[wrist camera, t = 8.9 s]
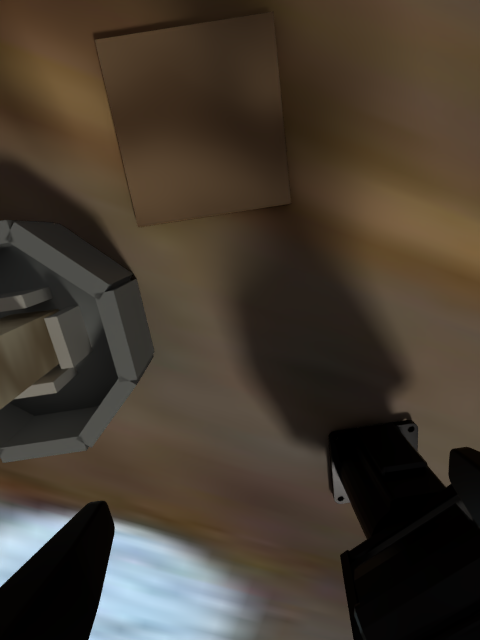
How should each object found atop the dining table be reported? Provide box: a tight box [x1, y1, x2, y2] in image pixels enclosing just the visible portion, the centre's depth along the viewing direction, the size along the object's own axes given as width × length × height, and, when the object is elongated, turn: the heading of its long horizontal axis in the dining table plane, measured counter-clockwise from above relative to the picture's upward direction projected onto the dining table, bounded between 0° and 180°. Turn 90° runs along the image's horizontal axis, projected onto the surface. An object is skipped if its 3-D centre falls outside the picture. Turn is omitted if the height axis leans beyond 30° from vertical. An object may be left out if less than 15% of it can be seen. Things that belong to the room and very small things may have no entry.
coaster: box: [95, 12, 291, 227], centre depth 17 cm, size 9×9×1 cm
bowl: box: [0, 220, 154, 463], centre depth 18 cm, size 13×13×4 cm
